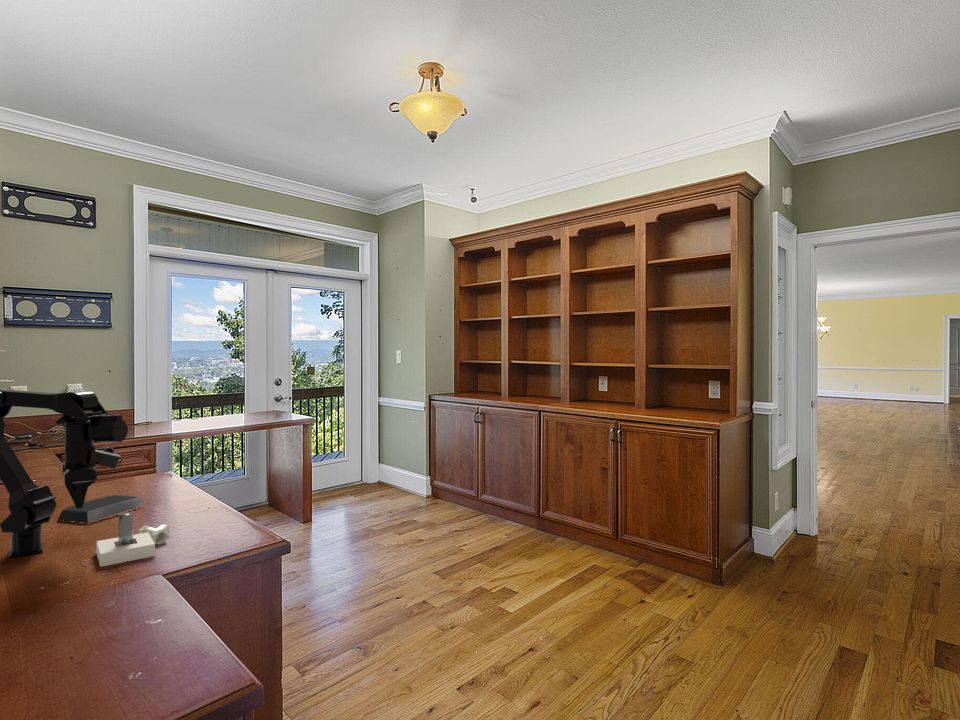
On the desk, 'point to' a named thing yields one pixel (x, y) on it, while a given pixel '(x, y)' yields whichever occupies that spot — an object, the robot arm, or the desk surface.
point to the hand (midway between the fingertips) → (78, 504)
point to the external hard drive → (100, 508)
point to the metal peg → (125, 529)
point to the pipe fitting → (156, 533)
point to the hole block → (125, 550)
